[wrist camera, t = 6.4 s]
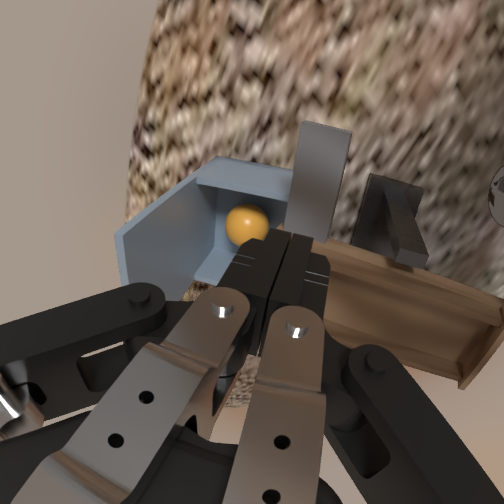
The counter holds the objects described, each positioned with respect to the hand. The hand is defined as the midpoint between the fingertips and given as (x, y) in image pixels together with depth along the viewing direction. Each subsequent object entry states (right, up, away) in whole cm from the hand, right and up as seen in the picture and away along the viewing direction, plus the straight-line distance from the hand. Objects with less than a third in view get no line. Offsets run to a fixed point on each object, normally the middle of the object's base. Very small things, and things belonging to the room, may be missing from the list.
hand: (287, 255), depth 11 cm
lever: (+9, 0, +9) cm, 13 cm away
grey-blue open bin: (0, +4, +21) cm, 21 cm away
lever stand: (+11, +1, +19) cm, 22 cm away
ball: (-2, +2, +18) cm, 19 cm away
